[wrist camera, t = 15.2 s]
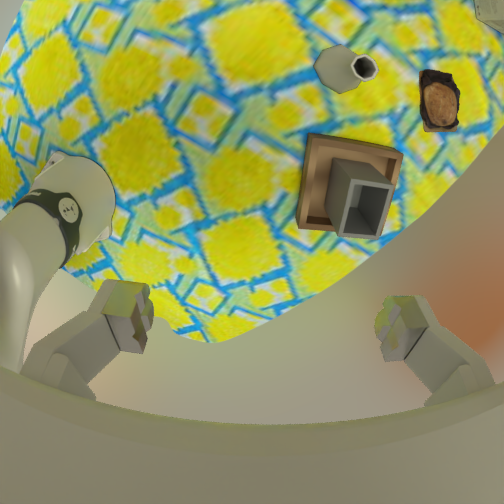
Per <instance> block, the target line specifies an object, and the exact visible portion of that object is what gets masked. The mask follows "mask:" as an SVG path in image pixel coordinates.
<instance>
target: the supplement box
mask: <svg viewBox="0 0 504 504" xmlns="http://www.w3.org/2000/svg"><path fill="white" fill-rule="evenodd" d="M474 2H475V9H476V17H477V19H478V20H480V21H482V22H484V23H485V24H487V25H489V26H491V27H492V28H494V29H496V30H497V31H499V32H500V33H502V34H504V0H474Z"/></svg>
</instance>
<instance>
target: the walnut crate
mask: <svg viewBox="0 0 504 504" xmlns="http://www.w3.org/2000/svg"><path fill="white" fill-rule="evenodd" d="M403 155H404V154H402V153H401V152H399V151H398V150H396V149H395V148H392V147H387V146H383V145H378V144H373V143H368V142H363V141H358V140H353V139H347V138H341V137H335V136H329V135H322V134H315V133H308V137H307V145H306V152H305V159H304V166H303V173H302V180H301V186H300V193H299V200H298V206H297V212H296V221H297V225H298V229H309V230H322V231H334V232H335V229H334V227H333V225H332V223H331V221H330V218H329V216H328V214H327V212H326V210H325V208H324V202H325V197H326V192H327V186H328V181H329V176H330V170H331V164H332V159H333V157H334V158H341V159H348V160H354V161H360V162H366V163H370V164H371V165H372V166H373V167H375V168H376V169H377V170H378V171H379V172H380V173H381V174H382V175H383V176H385V177H386V178H387V179H388V180H389V181H390V182H391V183H392V184H393V185H394V189H393V192H392V196H391V199H390V203H389V206H388V210H387V213H386V216H385V220H384V223H383V226H382V229H381V232H380V236H381V234H382V231H383V228H384V224H385V221H386V218H387V215H388V211H389V208H390V205H391V201H392V198H393V194H394V191H395V187H396V183H397V179H398V176H399V172H400V168H401V164H402V159H403Z"/></svg>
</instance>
